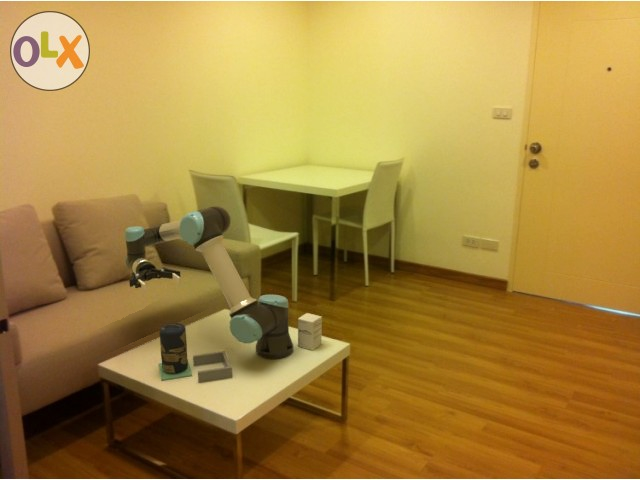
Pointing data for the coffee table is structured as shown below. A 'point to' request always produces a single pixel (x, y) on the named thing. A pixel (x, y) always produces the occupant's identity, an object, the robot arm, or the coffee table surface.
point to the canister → (173, 347)
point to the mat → (170, 376)
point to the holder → (213, 373)
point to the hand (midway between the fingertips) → (162, 284)
